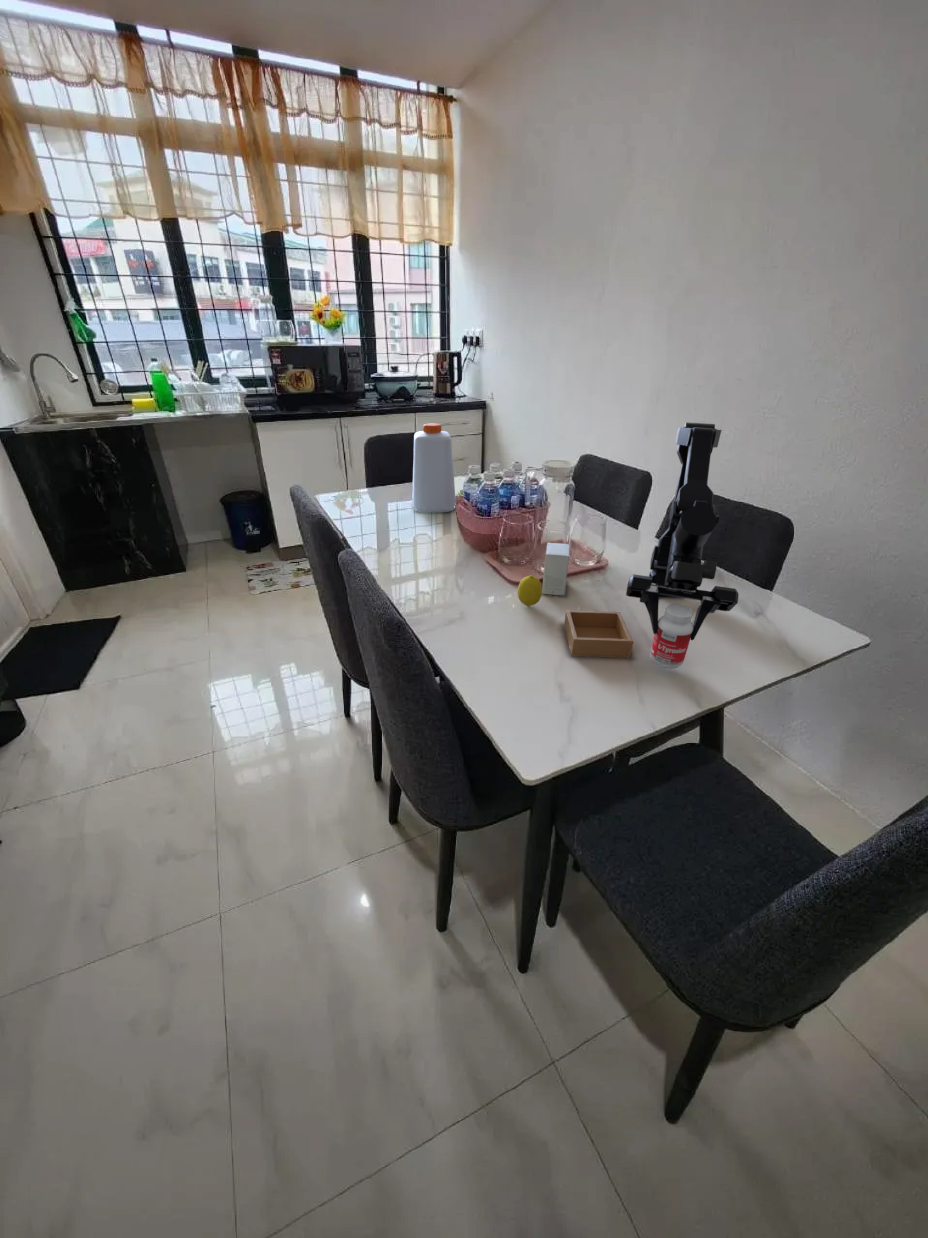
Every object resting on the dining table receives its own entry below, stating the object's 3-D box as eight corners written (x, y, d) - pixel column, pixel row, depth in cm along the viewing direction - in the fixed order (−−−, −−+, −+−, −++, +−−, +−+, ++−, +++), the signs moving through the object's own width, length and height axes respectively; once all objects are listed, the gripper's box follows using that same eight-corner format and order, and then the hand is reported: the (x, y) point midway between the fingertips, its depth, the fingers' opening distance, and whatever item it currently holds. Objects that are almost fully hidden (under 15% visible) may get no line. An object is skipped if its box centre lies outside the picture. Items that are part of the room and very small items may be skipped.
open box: (617, 627, 109) (620, 611, 107) (630, 657, 99) (633, 641, 97) (563, 625, 110) (565, 610, 108) (571, 655, 100) (573, 639, 98)
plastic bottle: (412, 500, 186) (409, 420, 171) (452, 500, 187) (453, 420, 173) (413, 514, 173) (409, 428, 158) (456, 513, 174) (457, 428, 160)
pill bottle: (649, 666, 94) (662, 616, 89) (648, 648, 99) (660, 599, 94) (684, 672, 93) (699, 621, 87) (681, 653, 98) (695, 604, 92)
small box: (564, 596, 122) (569, 556, 116) (541, 594, 122) (545, 554, 117) (565, 582, 128) (570, 543, 123) (543, 580, 129) (547, 541, 124)
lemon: (542, 603, 118) (545, 572, 114) (537, 614, 114) (540, 582, 110) (519, 599, 120) (522, 568, 116) (513, 609, 115) (516, 578, 111)
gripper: (638, 533, 90) (624, 616, 87) (752, 547, 85) (742, 635, 82) (632, 557, 100) (619, 631, 97) (733, 570, 95) (724, 649, 92)
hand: (673, 636), depth 92 cm, fingers closed on pill bottle, 6 cm apart
